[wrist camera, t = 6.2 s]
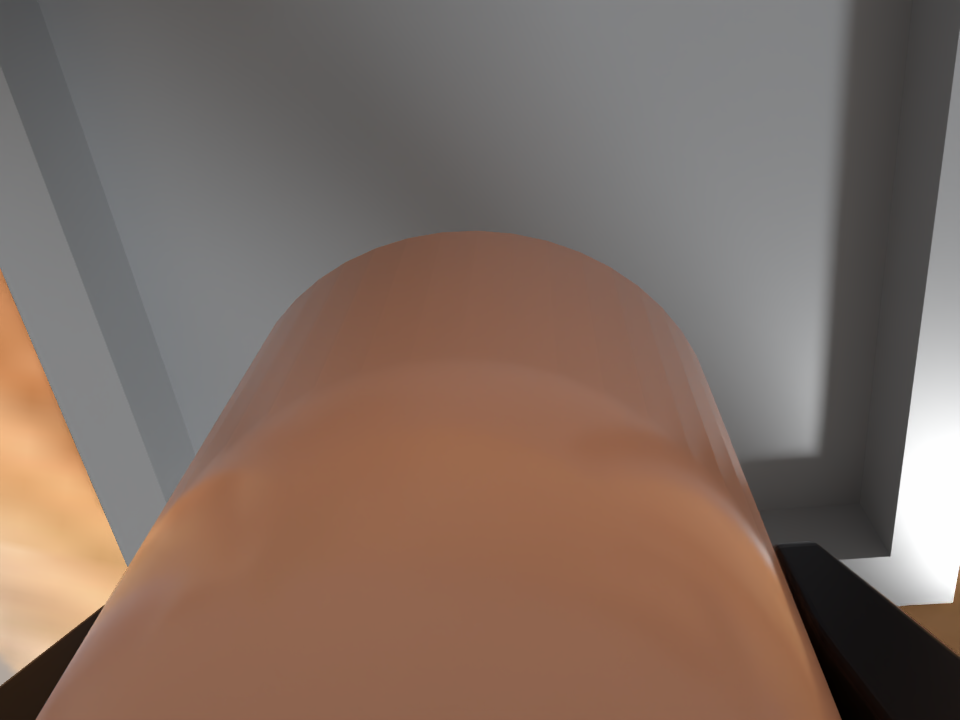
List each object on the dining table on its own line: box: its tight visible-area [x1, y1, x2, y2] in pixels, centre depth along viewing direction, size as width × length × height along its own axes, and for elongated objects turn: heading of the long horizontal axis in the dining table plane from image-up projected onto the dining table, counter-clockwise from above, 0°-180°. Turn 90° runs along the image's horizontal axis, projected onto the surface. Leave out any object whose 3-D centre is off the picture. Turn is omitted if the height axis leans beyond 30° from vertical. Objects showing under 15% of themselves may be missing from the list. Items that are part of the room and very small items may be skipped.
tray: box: [0, 0, 960, 606], centre depth 18 cm, size 20×20×3 cm
